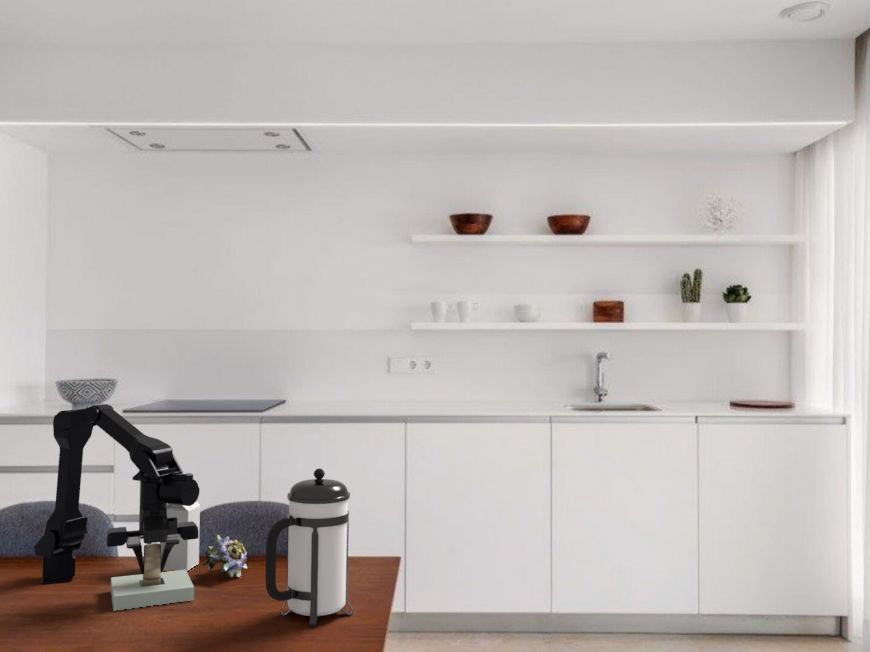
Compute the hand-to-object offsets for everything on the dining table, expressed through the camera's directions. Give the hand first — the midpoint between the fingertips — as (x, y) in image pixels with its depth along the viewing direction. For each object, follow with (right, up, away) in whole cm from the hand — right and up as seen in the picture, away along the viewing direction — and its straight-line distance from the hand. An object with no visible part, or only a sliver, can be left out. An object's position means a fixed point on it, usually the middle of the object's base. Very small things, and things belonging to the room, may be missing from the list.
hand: (151, 573), depth 169 cm
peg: (0, -4, 0) cm, 4 cm away
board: (0, -5, 0) cm, 5 cm away
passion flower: (+12, -6, +15) cm, 20 cm away
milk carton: (-1, -6, +20) cm, 21 cm away
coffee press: (+37, -5, -11) cm, 39 cm away
